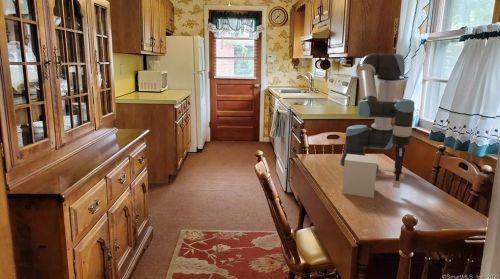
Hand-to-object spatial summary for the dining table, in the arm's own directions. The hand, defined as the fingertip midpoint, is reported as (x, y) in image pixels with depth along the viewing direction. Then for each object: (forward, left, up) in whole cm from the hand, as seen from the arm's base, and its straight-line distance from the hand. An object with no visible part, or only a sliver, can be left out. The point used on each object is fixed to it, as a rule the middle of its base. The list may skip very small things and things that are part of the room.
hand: (396, 184), depth 168 cm
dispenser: (0, -16, -5) cm, 17 cm away
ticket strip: (0, -9, +4) cm, 10 cm away
